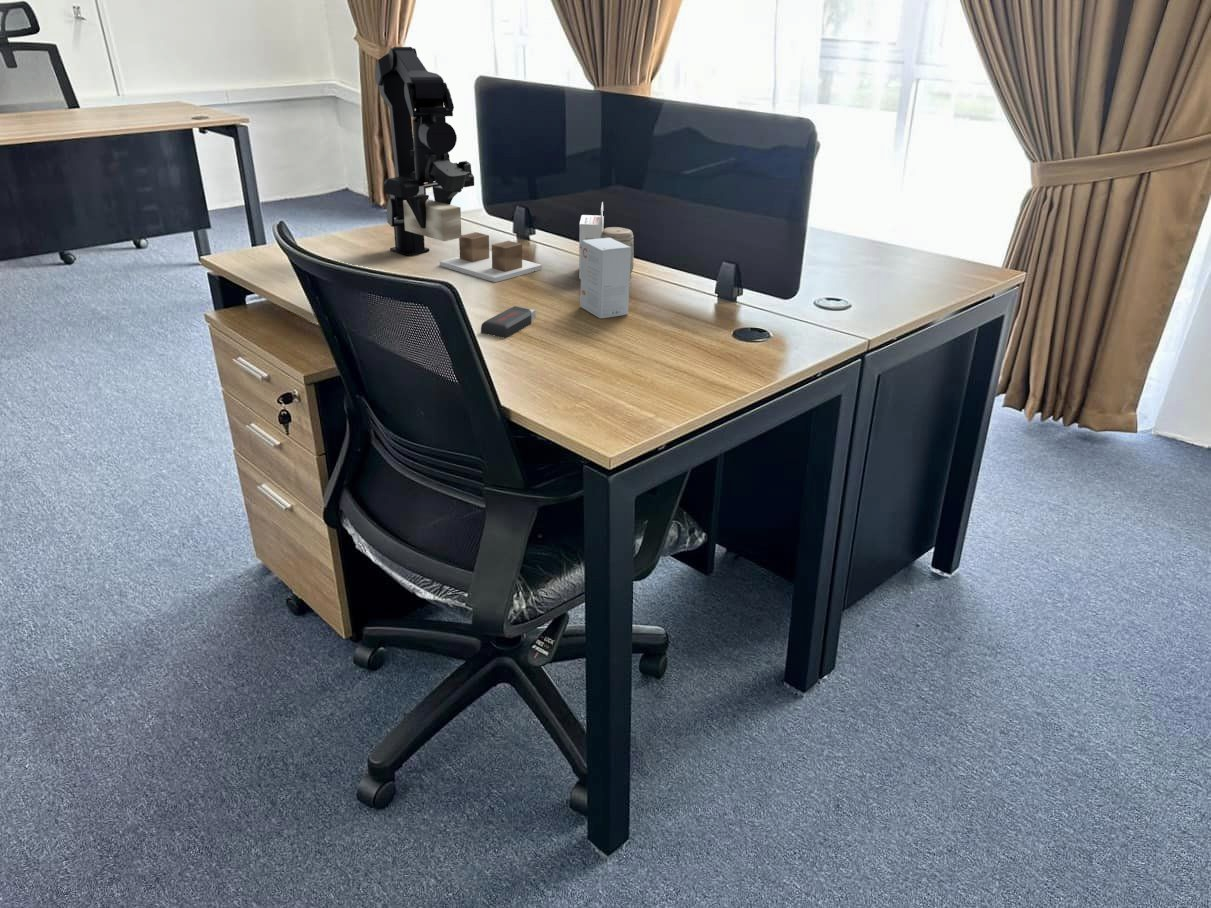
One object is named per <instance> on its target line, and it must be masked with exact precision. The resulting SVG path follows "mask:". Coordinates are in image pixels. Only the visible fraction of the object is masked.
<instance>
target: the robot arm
mask: <svg viewBox="0 0 1211 908" xmlns="http://www.w3.org/2000/svg"><path fill="white" fill-rule="evenodd" d="M374 72H375V73H374V77H375V82H376V86H378V89H379V94H380V96H381V98H382V99H383V101H384V102H385V104H386V105H387V106H388V111H389V119H390V131H391V140H392V149H393V160H394V161H393V162H394V169H395V171H394V172H395V177H389V178H386V179H385V181H384V184H383V187H384V194H386V195H390V196H389V198H388V201H387V205H386V213H385V214H386V220H387V222H386V223H387V224H388V225H389V226H390V227H391V228H393V230H394V231H393V232H394V247H390V248H389V251H392V252H394V253H397V254H401V255H404V256H413V255H418V254H421V253H425V252H429V251H430V248H429V247H426V246H425V236H423V235H420V234H416V233H412V232H409V231H405V224H404V207H403V201H404V200H406V201H407V203H408V204H409V206H410V208H411V209H412V211H413V213H414V215H415V217H416V219H417V221H418V223H419V225H420V227H421V228H426V205H425V203H426V201H427V199H429V198H430V195H429V194H427V189H428V188H432V192H433V193H432V194H433V198H434V200H433V201H437V202H441V203H445V204H449V205H452V201H453V199H454V198H455V196H457V195H458V194H459V193H461V192H462V190H464V188H469V187H474V186H475V176H474V174H473V173H472V172H473V171H472V164H471V163H470V162H469V161H468V160H463V161H462V160H461V161H459V162H451V160H450V153H449V152H451V151H452V150H453V149H454V148H455V146H456V144H457V139H458V137H457V136H458V135H457V134H456V131H455V129H454V127H453V126H452V125H451V124H449V123H448V122H446V118H447V117H453V116H454V113H453V111H454V109H455V106H454V103H453V98H452V95H451V92H450V88H448V83H446V82H445V81H444V79H443V77H442V76H441V75H439V74H438V73H437V72H436V73H435V72H431V71H428V69H427V68H426V67H425V65H423V62H422V61H421V60H420V57H418V54H417V50H416V48H414V47H412V46H393V47H390V48H389V50H388V53H387V54H384V56H382V57H380V58H379V59H378V60H377V61H376V65H375V70H374Z"/></svg>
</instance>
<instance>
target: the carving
mask: <svg viewBox="0 0 1211 908" xmlns="http://www.w3.org/2000/svg"><path fill="white" fill-rule="evenodd" d="M601 238H612V239H614V240H616V241H618V242H621V243H623V244H625V245H627V246H629V247H631V261H630V280H631V279H632V273H633V270H634V262H635V261H634V260H635V259H634V257H635V256H634V254H635V253H634V251H635V250H634V249H635V248H634V241H635V240H634V233H633V231H632V230H631V229H630V228H625V227H618V226H611V227H610V226H609V227H605V228H603V232H602V233H601ZM630 285H631V283H630V284H629V286H630Z"/></svg>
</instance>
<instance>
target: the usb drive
mask: <svg viewBox="0 0 1211 908" xmlns="http://www.w3.org/2000/svg"><path fill="white" fill-rule="evenodd" d="M534 318H535V319H536V309H532V308H526V307H522V306H516V305H514V306H512V307H510V308H508V309H506V310H504V311H501V312H500V313H498V314H496V315H494V316H493V317H490V318H488V319H487V320H485V321H483V323H481V326H480V333H481V334H484V335H488V334H489V335H490V336H493V335H495V336H494V337H498V336H499V337H498V338H503V337H504V338H503V339H507V338H509V337H511V336H513V335H514V333H515V334H516V333H519V330H520V331H521V329H522V330H524V329H525V328H527V327H528V325H529V326H530V325H532V321H533V320H535V319H534ZM532 319H533V320H532ZM526 326H527V327H526ZM489 335H488V336H489Z"/></svg>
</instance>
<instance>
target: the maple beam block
mask: <svg viewBox="0 0 1211 908" xmlns="http://www.w3.org/2000/svg"><path fill="white" fill-rule="evenodd" d="M425 205H426V228H421V227H420V225H419V223H418V221H417V219H416V217H415V215H414V213H413V211H412V209H411V208H410V206H409V204H408V203H407V201H406V200H404V201H403V207H404V224H405V231H409V232H412V233H416V234H420V235H423V236H424V237H428V238H431V239H433V240H434V239H435V240H438V241H441V242H448V241H452V240H457V239H458V240H459V238H461V235H462V217H461V216H462V214H461V212H462V211H461V206H457V205H452V204H450V205H449V204H445V203H441V202H437V201H435V200H433V199H429V198H428V199H427V201H426V203H425Z"/></svg>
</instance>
